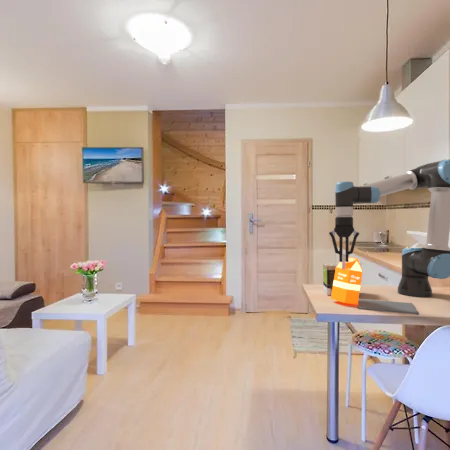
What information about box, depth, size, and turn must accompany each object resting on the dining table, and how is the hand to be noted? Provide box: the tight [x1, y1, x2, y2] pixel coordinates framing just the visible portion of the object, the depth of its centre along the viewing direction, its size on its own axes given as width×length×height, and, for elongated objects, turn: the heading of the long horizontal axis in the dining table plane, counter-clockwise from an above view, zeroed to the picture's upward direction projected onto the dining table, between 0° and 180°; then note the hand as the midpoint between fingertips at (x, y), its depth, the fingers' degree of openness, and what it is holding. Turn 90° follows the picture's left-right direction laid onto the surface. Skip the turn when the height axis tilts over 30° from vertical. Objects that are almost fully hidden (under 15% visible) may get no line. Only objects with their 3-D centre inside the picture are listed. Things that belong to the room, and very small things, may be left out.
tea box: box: [322, 263, 339, 296], centre depth 170 cm, size 15×10×15 cm
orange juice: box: [330, 256, 363, 305], centre depth 152 cm, size 8×9×20 cm
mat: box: [357, 298, 419, 315], centre depth 145 cm, size 22×16×1 cm
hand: (343, 269), depth 151 cm, fingers closed
